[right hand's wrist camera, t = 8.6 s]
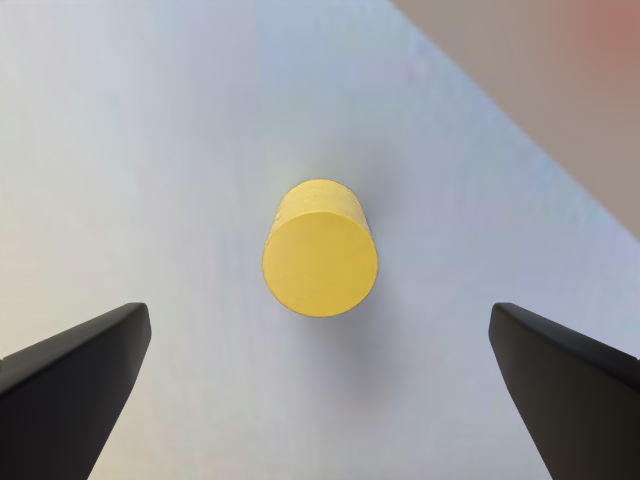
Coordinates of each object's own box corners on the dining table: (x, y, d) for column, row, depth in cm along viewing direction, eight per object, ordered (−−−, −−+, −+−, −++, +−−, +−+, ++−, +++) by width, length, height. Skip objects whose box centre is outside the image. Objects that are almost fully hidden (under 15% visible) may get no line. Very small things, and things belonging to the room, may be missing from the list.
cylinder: (318, 159, 18) (318, 186, 14) (383, 221, 19) (402, 265, 15) (257, 224, 19) (237, 268, 15) (321, 279, 20) (321, 337, 16)
